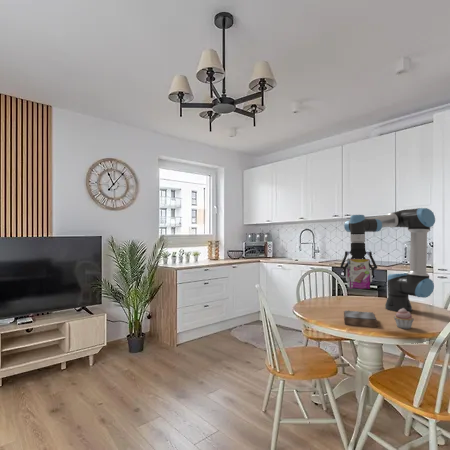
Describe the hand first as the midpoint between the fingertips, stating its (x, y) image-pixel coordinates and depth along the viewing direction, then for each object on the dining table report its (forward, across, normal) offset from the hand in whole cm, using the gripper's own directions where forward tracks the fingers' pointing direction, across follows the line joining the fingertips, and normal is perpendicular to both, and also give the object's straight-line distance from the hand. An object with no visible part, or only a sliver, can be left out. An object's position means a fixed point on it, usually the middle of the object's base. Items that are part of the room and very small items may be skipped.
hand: (358, 281), depth 173 cm
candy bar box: (+4, 0, 0) cm, 4 cm away
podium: (+22, 0, 0) cm, 22 cm away
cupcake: (+23, +21, -4) cm, 31 cm away
